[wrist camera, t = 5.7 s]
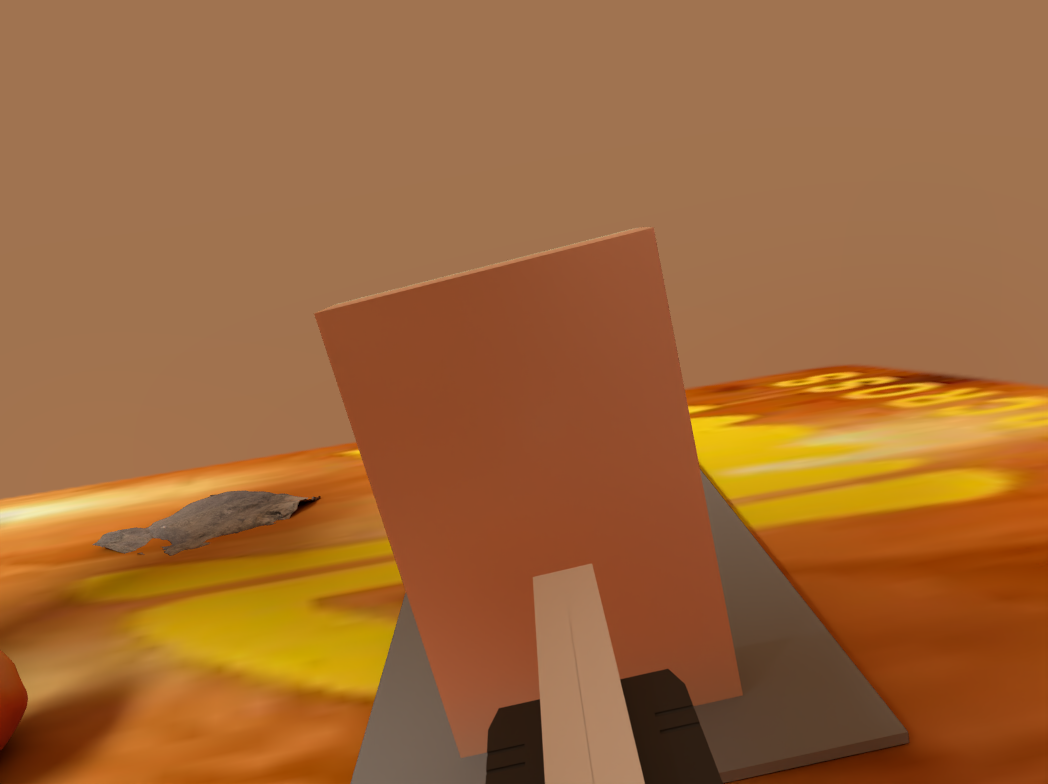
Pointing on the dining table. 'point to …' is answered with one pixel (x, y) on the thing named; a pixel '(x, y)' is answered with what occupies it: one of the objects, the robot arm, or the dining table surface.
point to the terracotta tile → (536, 466)
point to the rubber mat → (729, 725)
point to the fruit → (10, 699)
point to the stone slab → (207, 521)
